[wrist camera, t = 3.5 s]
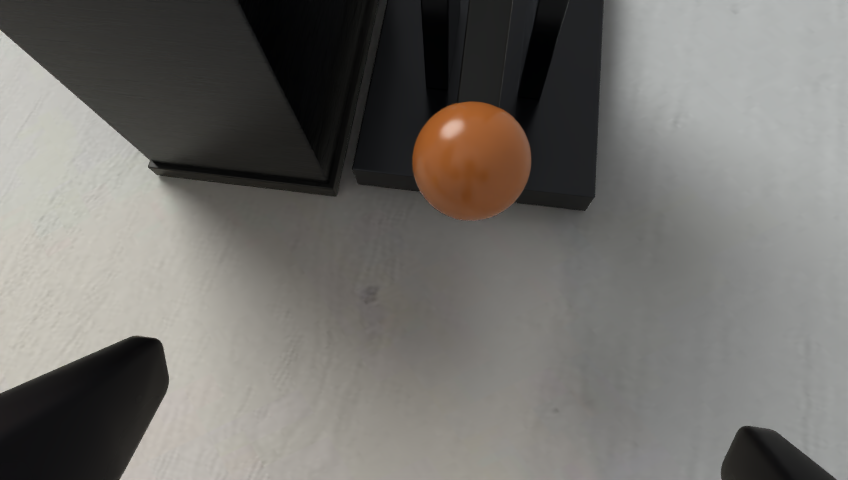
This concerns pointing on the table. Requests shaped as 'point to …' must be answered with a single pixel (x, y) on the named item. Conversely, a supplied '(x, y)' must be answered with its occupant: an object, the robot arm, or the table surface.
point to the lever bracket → (520, 96)
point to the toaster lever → (475, 129)
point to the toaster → (212, 80)
